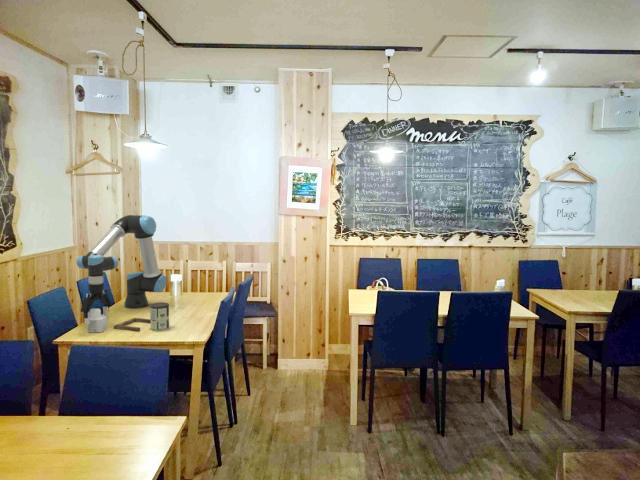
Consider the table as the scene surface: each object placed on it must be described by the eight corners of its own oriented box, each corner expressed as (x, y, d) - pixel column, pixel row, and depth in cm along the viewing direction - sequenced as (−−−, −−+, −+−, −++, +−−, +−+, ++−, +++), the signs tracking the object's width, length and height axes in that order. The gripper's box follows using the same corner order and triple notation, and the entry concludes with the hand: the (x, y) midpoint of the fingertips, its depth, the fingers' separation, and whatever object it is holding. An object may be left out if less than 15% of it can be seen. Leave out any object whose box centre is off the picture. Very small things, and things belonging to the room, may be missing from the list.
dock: (134, 320, 275) (134, 317, 275) (157, 323, 271) (157, 320, 271) (113, 328, 258) (113, 325, 258) (137, 331, 254) (137, 328, 254)
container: (92, 328, 258) (92, 306, 256) (107, 328, 258) (106, 306, 257) (87, 332, 250) (86, 309, 249) (101, 332, 251) (101, 309, 249)
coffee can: (159, 324, 267) (159, 301, 266) (173, 327, 263) (173, 303, 261) (146, 329, 258) (146, 305, 257) (159, 332, 254) (159, 307, 252)
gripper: (106, 279, 264) (107, 314, 266) (72, 286, 240) (73, 325, 242) (117, 280, 262) (118, 316, 264) (84, 287, 238) (84, 327, 240)
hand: (96, 320), depth 253 cm, fingers open, 13 cm apart
